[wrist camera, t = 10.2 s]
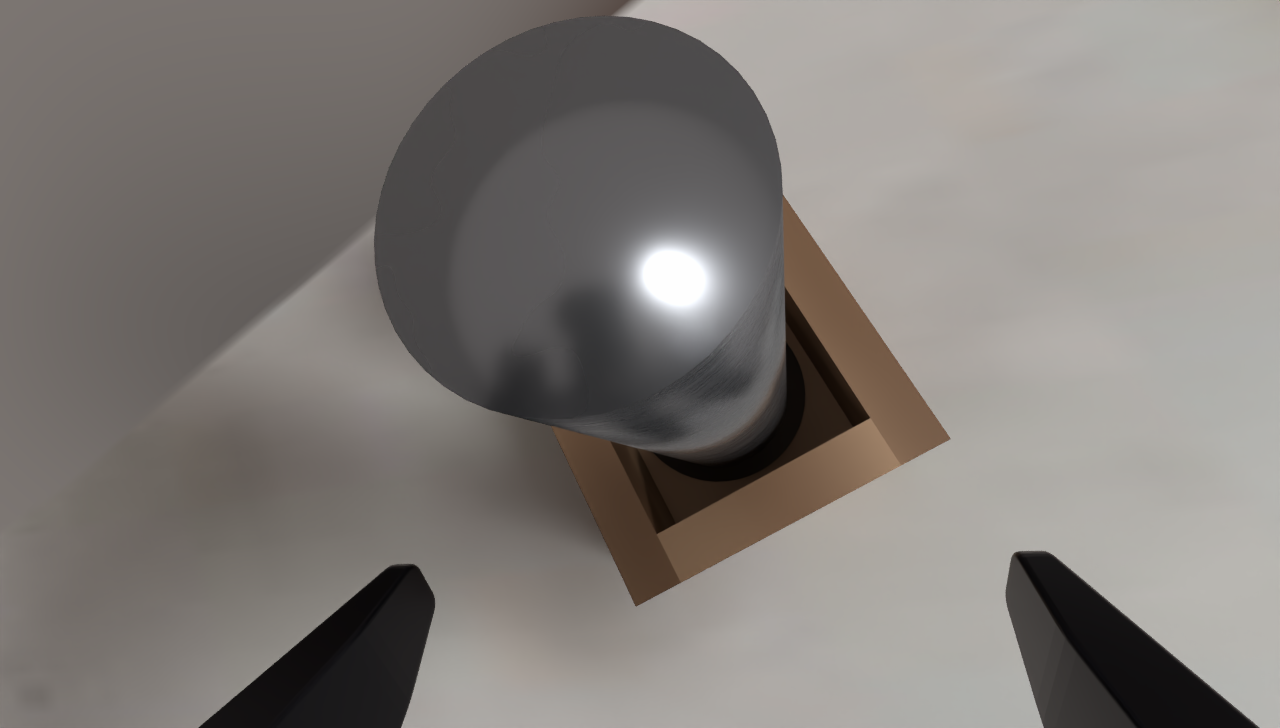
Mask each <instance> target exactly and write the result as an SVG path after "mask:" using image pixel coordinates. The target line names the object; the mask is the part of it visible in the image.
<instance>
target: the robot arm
mask: <svg viewBox="0 0 1280 728" xmlns="http://www.w3.org/2000/svg"><path fill="white" fill-rule="evenodd" d="M1006 603H1007V607H1008V611H1009V614H1010V618H1011V621H1012V624H1013V628H1014V631H1015V635H1016V638H1017V641H1018V645H1019V648H1020V651H1021V655H1022V658H1023V661H1024V665H1025V668H1026V671H1027V675H1028V678H1029V681H1030V685H1031V688H1032V691H1033V695H1034V698H1035V701H1036V705H1037V708H1038V711H1039V714H1040V717H1041V720H1042V724H1043V726H1044V728H1259V727H1258V726H1257V725H1256V724H1254V723H1253V722H1252V721H1251V720H1250V719H1248V718H1247V717H1246V716H1245V715H1244V714H1242V713H1241V712H1240V711H1239V710H1238V709H1237V708H1235V707H1234V706H1233V705H1232V704H1231V703H1229V702H1228V701H1227V700H1226V699H1225V698H1223V697H1222V696H1221V695H1220V694H1219V693H1217V692H1216V691H1215V690H1214V689H1213V688H1211V687H1210V686H1209V685H1208V684H1207V683H1205V682H1204V681H1203V680H1202V679H1201V678H1200V677H1198V676H1197V675H1196V674H1195V673H1194V672H1192V671H1191V670H1190V669H1189V668H1188V667H1186V666H1185V665H1184V664H1183V663H1182V662H1180V661H1179V660H1178V659H1177V658H1176V657H1174V656H1173V655H1172V654H1171V653H1170V652H1168V651H1167V650H1166V649H1165V648H1164V647H1163V646H1161V645H1160V644H1159V643H1158V642H1157V641H1155V640H1154V639H1153V638H1152V637H1151V636H1149V635H1148V634H1147V633H1146V632H1145V631H1143V630H1142V629H1141V628H1140V627H1139V626H1137V625H1136V624H1135V623H1134V622H1133V621H1131V620H1130V619H1129V618H1128V617H1127V616H1125V615H1124V614H1123V613H1122V612H1121V611H1120V610H1118V609H1117V608H1116V607H1115V606H1114V605H1112V604H1111V603H1110V602H1109V601H1108V600H1106V599H1105V598H1104V597H1103V596H1102V595H1100V594H1099V593H1098V592H1097V591H1096V590H1094V589H1093V588H1092V587H1091V586H1090V585H1088V584H1087V583H1086V582H1085V581H1084V580H1083V579H1081V578H1080V577H1079V576H1078V575H1077V574H1075V573H1074V572H1073V571H1072V570H1071V569H1069V568H1068V567H1067V566H1066V565H1065V564H1063V563H1062V562H1061V561H1060V560H1059V559H1057V558H1056V557H1055V556H1054V555H1052V554H1050V553H1048V552H1046V551H1018V552H1015V553H1014V554H1013V555H1012V558H1011V562H1010V568H1009V574H1008V580H1007V585H1006ZM434 609H435V598H434V594H433V592H432V590H431V589H430V587H429V585H428V583H427V581H426V580H425V578H424V576H423V574H422V572H421V571H420V569H419V568H418V567H417V566H416V565H414V564H396V565H392V566H390V567H388V568H387V569H385V570H384V571H383V572H382V573H381V574H379V575H378V576H377V577H376V578H375V579H374V580H372V581H371V582H370V583H369V584H368V585H366V586H365V587H364V588H363V589H362V590H361V591H359V592H358V593H357V594H356V595H355V596H353V597H352V598H351V599H350V600H349V601H348V602H346V603H345V604H344V605H343V606H342V607H340V608H339V609H338V610H337V611H336V612H335V613H333V614H332V615H331V616H330V617H329V618H327V619H326V620H325V621H324V622H323V623H322V624H320V625H319V626H318V627H317V628H316V629H314V630H313V631H312V632H311V633H310V634H309V635H307V636H306V637H305V638H304V639H303V640H302V641H300V642H299V643H298V644H297V645H296V646H294V647H293V648H292V649H291V650H290V651H289V652H287V653H286V654H285V655H284V656H283V657H281V658H280V659H279V660H278V661H277V662H276V663H274V664H273V665H272V666H271V667H270V668H268V669H267V670H266V671H265V672H264V673H263V674H261V675H260V676H259V677H258V678H257V679H255V680H254V681H253V682H252V683H251V684H250V685H248V686H247V687H246V688H245V689H244V690H242V691H241V692H240V693H239V694H238V695H237V696H235V697H234V698H233V699H232V700H231V701H229V702H228V703H227V704H226V705H225V706H224V707H222V708H221V709H220V710H219V711H218V712H216V713H215V714H214V715H213V716H212V717H210V718H209V719H208V720H207V721H206V722H205V723H203V724H202V725H201V726H200V727H199V728H401V726H402V724H403V721H404V718H405V715H406V712H407V709H408V706H409V703H410V700H411V697H412V693H413V690H414V686H415V683H416V679H417V675H418V671H419V667H420V663H421V660H422V656H423V652H424V648H425V644H426V641H427V637H428V633H429V629H430V625H431V621H432V618H433V614H434Z"/></svg>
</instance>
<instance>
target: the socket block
mask: <svg viewBox="0 0 1280 728" xmlns="http://www.w3.org/2000/svg"><path fill="white" fill-rule="evenodd" d="M783 236H784V284H785V333H786V381H787V403H786V410H785V415H784V418H783V421H782V424H781V426H780V428H779V430H778V432H777V434H776V435H775V437H774V438H773V439H772V441H771V442H770V443H769V444H768V445H767V446H766V447H765V448H764V449H763V450H762V451H760V452H759V453H758V454H757V455H755V456H753V457H752V458H750V459H748V460H746V461H743V462H741V463H738V464H734V465H730V466H723V467H712V466H704V465H700V464H696V463H692V462H688V461H685V460H681V459H677V458H673V457H669V456H665V455H661V454H658V453H654V452H650V451H646V450H642V449H638V448H635V447H631V446H627V445H623V444H619V443H615V442H612V441H608V440H604V439H600V438H596V437H592V436H588V435H585V434H581V433H577V432H573V431H569V430H565V429H562V428H558V427H554V426H551V427H552V429H553V431H554V434H555V436H556V438H557V440H558V442H559V444H560V446H561V448H562V451H563V453H564V455H565V457H566V459H567V461H568V463H569V465H570V468H571V470H572V472H573V474H574V476H575V478H576V480H577V482H578V485H579V487H580V489H581V491H582V493H583V495H584V497H585V499H586V502H587V504H588V506H589V508H590V510H591V512H592V514H593V516H594V519H595V521H596V523H597V525H598V527H599V529H600V531H601V533H602V536H603V538H604V540H605V542H606V544H607V546H608V548H609V550H610V553H611V555H612V557H613V559H614V561H615V563H616V565H617V567H618V570H619V572H620V574H621V576H622V578H623V580H624V582H625V585H626V587H627V589H628V591H629V593H630V595H631V597H632V599H633V602H634V604H635V606H638V605H640V604H642V603H643V602H645V601H647V600H649V599H651V598H653V597H655V596H657V595H659V594H660V593H662V592H664V591H666V590H668V589H670V588H672V587H674V586H675V585H677V584H679V583H681V582H683V581H685V580H687V579H689V578H690V577H692V576H694V575H696V574H698V573H700V572H702V571H704V570H705V569H707V568H709V567H711V566H713V565H715V564H717V563H719V562H720V561H722V560H724V559H726V558H728V557H730V556H732V555H734V554H735V553H737V552H739V551H741V550H743V549H745V548H747V547H749V546H750V545H752V544H754V543H756V542H758V541H760V540H762V539H764V538H766V537H767V536H769V535H771V534H773V533H775V532H777V531H779V530H781V529H782V528H784V527H786V526H788V525H790V524H792V523H794V522H796V521H797V520H799V519H801V518H803V517H805V516H807V515H809V514H811V513H812V512H814V511H816V510H818V509H820V508H822V507H824V506H826V505H827V504H829V503H831V502H833V501H835V500H837V499H839V498H841V497H842V496H844V495H846V494H848V493H850V492H852V491H854V490H856V489H857V488H859V487H861V486H863V485H865V484H867V483H869V482H871V481H872V480H874V479H876V478H878V477H880V476H882V475H884V474H886V473H888V472H889V471H891V470H893V469H895V468H897V467H899V466H901V465H903V464H904V463H906V462H908V461H910V460H912V459H914V458H916V457H918V456H919V455H921V454H923V453H925V452H927V451H929V450H931V449H933V448H934V447H936V446H938V445H940V444H942V443H944V442H946V441H948V440H949V439H950V437H949V436H948V434H947V433H946V431H945V430H944V428H943V427H942V426H941V424H940V423H939V421H938V420H937V418H936V417H935V415H934V414H933V412H932V411H931V410H930V408H929V407H928V405H927V404H926V402H925V401H924V399H923V398H922V396H921V395H920V393H919V392H918V391H917V389H916V388H915V386H914V385H913V383H912V382H911V380H910V379H909V377H908V376H907V375H906V373H905V372H904V370H903V369H902V367H901V366H900V364H899V363H898V361H897V360H896V359H895V357H894V356H893V354H892V353H891V351H890V350H889V348H888V347H887V345H886V344H885V343H884V341H883V340H882V338H881V337H880V335H879V334H878V332H877V331H876V329H875V328H874V327H873V325H872V324H871V322H870V321H869V319H868V318H867V316H866V315H865V313H864V312H863V311H862V309H861V308H860V306H859V305H858V303H857V302H856V300H855V299H854V297H853V296H852V294H851V293H850V292H849V290H848V289H847V287H846V286H845V284H844V283H843V281H842V280H841V278H840V277H839V276H838V274H837V273H836V271H835V270H834V268H833V267H832V265H831V264H830V262H829V261H828V260H827V258H826V257H825V255H824V254H823V252H822V251H821V249H820V248H819V246H818V245H817V244H816V242H815V241H814V239H813V238H812V236H811V235H810V233H809V232H808V230H807V229H806V228H805V226H804V225H803V223H802V222H801V220H800V219H799V217H798V216H797V214H796V213H795V212H794V210H793V209H792V207H791V206H790V204H789V203H788V201H787V200H786V198H785V197H784V195H783Z"/></svg>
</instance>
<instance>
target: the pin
mask: <svg viewBox="0 0 1280 728" xmlns="http://www.w3.org/2000/svg"><path fill="white" fill-rule="evenodd" d="M374 247H375V266H376V272H377V279H378V285H379V289H380V292H381V296H382V299H383V302H384V306H385V309H386V312H387V314H388V316H389V318H390V320H391V322H392V325H393V327H394V329H395V331H396V333H397V334H398V336H399V337H400V339H401V341H402V342H403V344H404V345H405V347H406V348H407V350H408V351H409V353H410V354H411V355H412V356H413V357H414V358H415V359H416V361H417V362H418V363H419V364H420V365H421V366H422V367H423V369H424V370H425V371H426V372H428V373H429V374H430V375H431V376H432V377H434V378H435V379H436V380H437V381H438V382H439V383H441V384H442V385H443V386H444V387H446V388H448V389H449V390H451V391H452V392H454V393H456V394H457V395H459V396H461V397H462V398H464V399H465V400H468V401H470V402H472V403H475V404H477V405H480V406H482V407H484V408H487V409H489V410H492V411H496V412H500V413H504V414H508V415H512V416H515V417H519V418H523V419H527V420H531V421H535V422H539V423H542V424H546V425H550V426H554V427H558V428H562V429H565V430H569V431H573V432H577V433H581V434H585V435H588V436H592V437H596V438H600V439H604V440H608V441H612V442H615V443H619V444H623V445H627V446H631V447H635V448H638V449H642V450H646V451H650V452H654V453H658V454H661V455H665V456H669V457H673V458H677V459H681V460H685V461H688V462H692V463H696V464H700V465H704V466H712V467H723V466H730V465H734V464H738V463H741V462H743V461H746V460H748V459H750V458H752V457H753V456H755V455H757V454H758V453H759V452H760V451H762V450H763V449H764V448H765V447H766V446H767V445H768V444H769V443H770V442H771V441H772V439H773V438H774V437H775V435H776V434H777V432H778V430H779V428H780V426H781V424H782V421H783V418H784V415H785V410H786V403H787V381H786V333H785V284H784V236H783V192H782V173H781V163H780V158H779V153H778V148H777V144H776V139H775V136H774V134H773V131H772V128H771V125H770V123H769V120H768V117H767V115H766V113H765V111H764V109H763V107H762V106H761V104H760V102H759V100H758V98H757V97H756V95H755V93H754V91H753V90H752V89H751V88H750V86H749V85H748V84H747V82H746V81H745V80H744V79H743V77H742V76H741V75H740V73H739V72H738V71H737V70H736V69H735V68H734V67H733V66H732V65H730V64H729V63H728V62H727V61H726V60H725V59H724V58H723V57H722V56H721V55H720V54H718V53H717V52H715V51H714V50H713V49H711V48H710V47H708V46H707V45H705V44H704V43H702V42H701V41H700V40H698V39H696V38H693V37H691V36H689V35H687V34H685V33H683V32H681V31H679V30H677V29H674V28H671V27H668V26H665V25H662V24H659V23H656V22H652V21H647V20H642V19H636V18H631V17H616V16H597V17H596V16H595V17H580V18H575V19H569V20H564V21H559V22H554V23H550V24H548V25H544V26H541V27H537V28H534V29H531V30H529V31H526V32H524V33H522V34H519V35H517V36H515V37H512V38H510V39H508V40H506V41H504V42H502V43H501V44H499V45H497V46H495V47H493V48H492V49H490V50H488V51H486V52H485V53H483V54H482V55H480V56H479V57H478V58H476V59H475V60H473V61H472V62H471V63H469V64H468V65H467V66H465V67H464V68H463V69H461V70H460V71H459V72H458V73H457V74H456V75H455V76H454V77H452V79H450V80H449V81H448V82H447V83H446V84H445V85H444V86H443V87H442V88H441V89H440V90H439V91H438V92H437V93H436V94H435V95H434V97H433V98H432V99H431V100H430V101H429V102H428V103H427V104H426V106H425V107H424V109H423V110H422V111H421V112H420V114H419V115H418V117H417V118H416V119H415V121H414V122H413V123H412V125H411V127H410V129H409V130H408V132H407V133H406V135H405V137H404V138H403V140H402V142H401V143H400V145H399V147H398V150H397V152H396V154H395V156H394V158H393V160H392V163H391V165H390V167H389V170H388V173H387V176H386V179H385V182H384V185H383V188H382V191H381V196H380V200H379V205H378V210H377V215H376V225H375V236H374Z"/></svg>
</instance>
